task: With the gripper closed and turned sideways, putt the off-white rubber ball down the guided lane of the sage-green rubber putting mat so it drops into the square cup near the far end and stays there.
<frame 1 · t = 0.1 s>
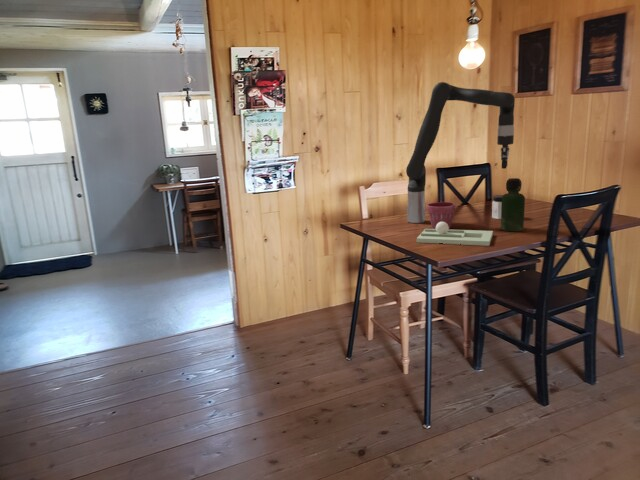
hand: (504, 167, 238), 29 cm above the table, fingers open, 8 cm apart
jar: (500, 218, 260), on the table
ball: (442, 227, 223), point 5 cm above the table, touching putting mat
spray bottle: (512, 229, 233), on the table
plant pot: (440, 228, 244), on the table
putting mat: (455, 238, 222), on the table
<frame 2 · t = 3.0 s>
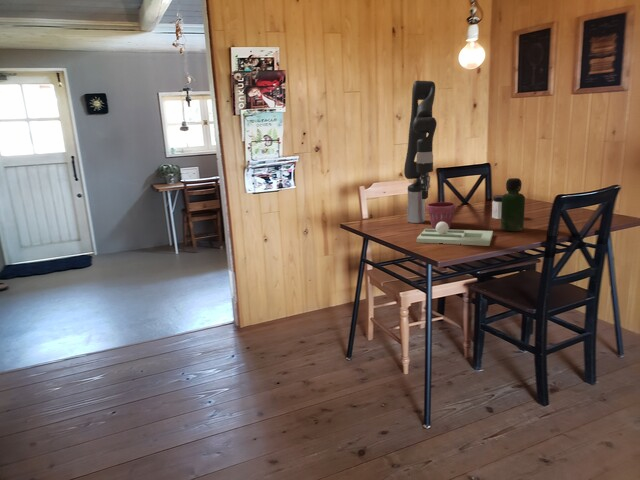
hand: (425, 198, 223), 19 cm above the table, fingers closed
nothing on the table moved.
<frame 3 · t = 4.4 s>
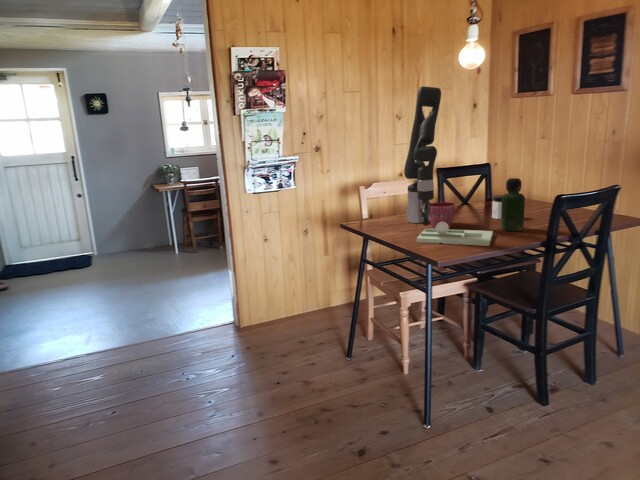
hand: (426, 225, 226), 6 cm above the table, fingers closed
nothing on the table moved.
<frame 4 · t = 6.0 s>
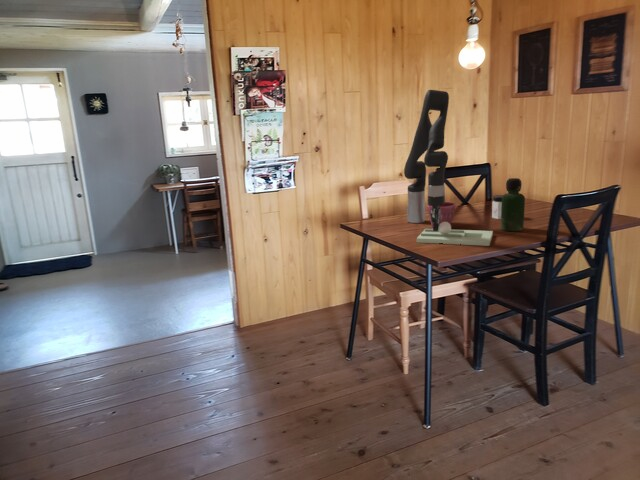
hand: (435, 230, 224), 4 cm above the table, fingers closed
ball: (444, 228, 223), point 5 cm above the table, tilted 19°, touching gripper, putting mat
everything else where it was.
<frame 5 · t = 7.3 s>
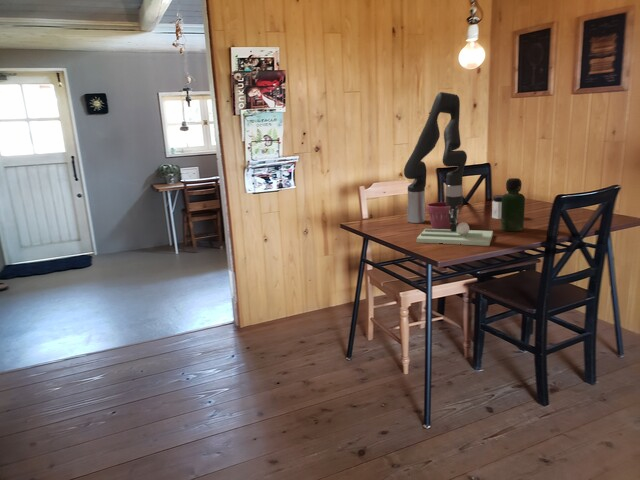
hand: (453, 231, 221), 4 cm above the table, fingers closed
ball: (462, 228, 219), point 5 cm above the table, tilted 146°, touching gripper, putting mat
everything else where it was.
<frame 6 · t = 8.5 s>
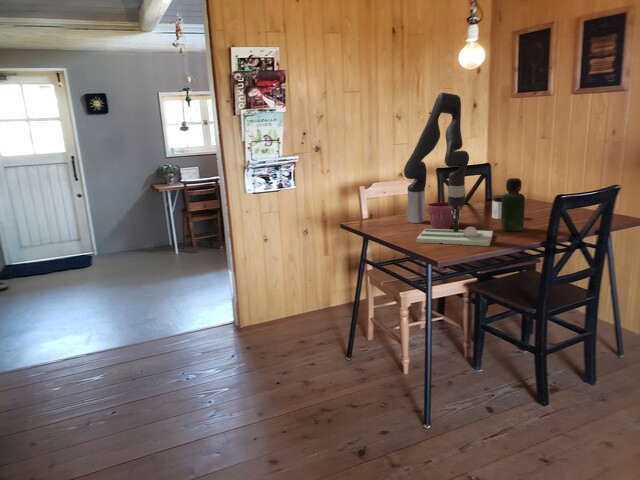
hand: (456, 231, 221), 3 cm above the table, fingers closed
ball: (470, 233, 219), point 3 cm above the table, tilted 136°
everything else where it was.
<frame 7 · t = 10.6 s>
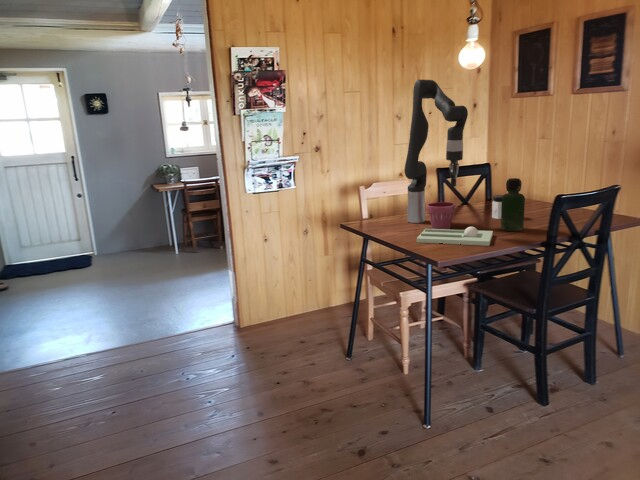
hand: (453, 186, 226), 23 cm above the table, fingers closed
ball: (471, 233, 219), point 3 cm above the table, tilted 129°
everything else where it was.
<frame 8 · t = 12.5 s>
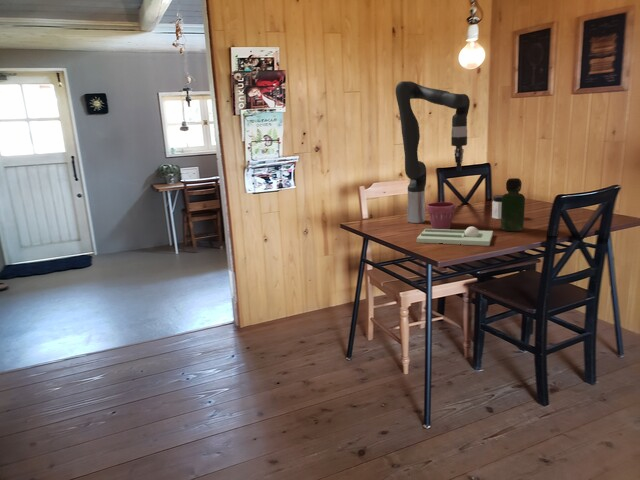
hand: (458, 170, 238), 29 cm above the table, fingers closed
ball: (471, 233, 219), point 3 cm above the table, tilted 124°
everything else where it was.
at the end: ball inside the target area on the putting mat (0.8 cm from its centre), point 3.0 cm above the putting mat's base; ball touching table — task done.
